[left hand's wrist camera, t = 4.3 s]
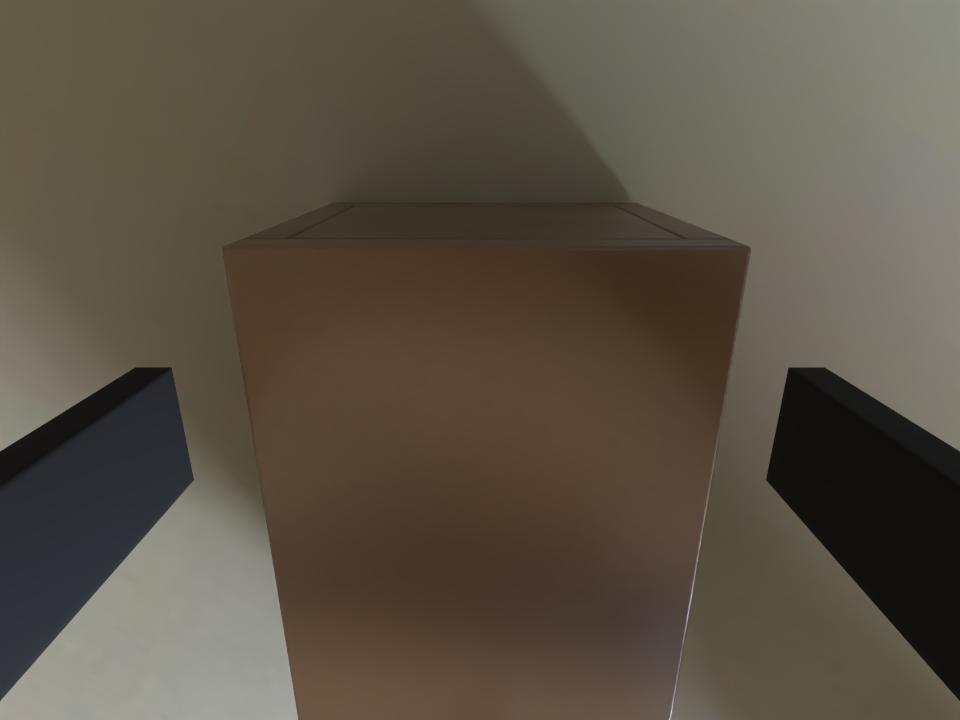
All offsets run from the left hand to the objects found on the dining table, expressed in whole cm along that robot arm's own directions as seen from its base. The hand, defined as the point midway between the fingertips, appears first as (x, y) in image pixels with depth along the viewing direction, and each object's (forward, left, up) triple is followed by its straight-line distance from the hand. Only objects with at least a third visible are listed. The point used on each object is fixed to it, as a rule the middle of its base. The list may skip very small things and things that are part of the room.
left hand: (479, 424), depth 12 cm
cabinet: (+4, -4, -9) cm, 11 cm away
